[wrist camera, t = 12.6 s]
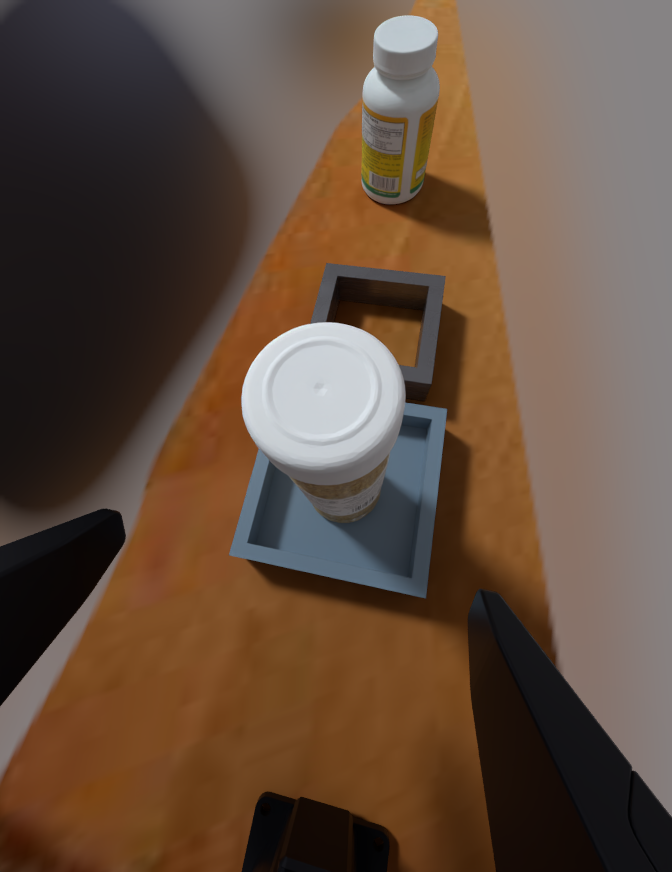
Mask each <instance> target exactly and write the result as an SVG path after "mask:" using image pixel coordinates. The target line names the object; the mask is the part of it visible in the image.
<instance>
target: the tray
mask: <svg viewBox="0 0 672 872" xmlns="http://www.w3.org/2000/svg"><path fill="white" fill-rule="evenodd" d="M446 415H447V409H444V408H437V407H431V406H424V405H418V404H411V403H405V408H404V413H403V419H402V424H401V427H400V431H399V434H398V437H397V440H396V442H395V444H394V446H393V448H392V450H391V451H390V456H389V461H388V465H387V469H386V473H385V476H384V480H383V484H382V487H381V492H380V497H379V500H378V502H377V503H376V506H375V507H374V509H373V510H372V511H371V512H369V513H368V514H367V515H366V516H365V517H363V518H361V519H360V520H357V521H354V522H350V523H338V522H334V521H330V520H328V519H326V518H325V517H323V516H321V515H320V514H319V513H318V512H317V511H316V510H315V508H314V506H313V505H312V503H311V502H310V501H309V500H308V499H307V497H306V496H305V495H304V494H303V492H302V491H301V490H300V489H299V488H298V486H297V485H296V484H295V483H294V482H293V481H292V480H291V478H290V477H289V476H288V475H287V474H285V473H283V472H282V471H280V470H279V469H278V468H276V467H275V466H274V465H273V464H272V463H271V462H270V460H269V459H268V458H267V457H266V456H265V455H264V454H263V452H262V451H261V450H260V449H259V450H258V454H257V457H256V461H255V465H254V468H253V472H252V475H251V479H250V482H249V486H248V490H247V493H246V497H245V500H244V504H243V507H242V511H241V514H240V518H239V522H238V525H237V529H236V532H235V536H234V539H233V543H232V546H231V550H230V554H229V555H231V556H235V557H240V558H244V559H249V560H254V561H258V562H263V563H267V564H272V565H276V566H281V567H285V568H290V569H294V570H299V571H304V572H308V573H313V574H317V575H322V576H326V577H331V578H335V579H340V580H345V581H349V582H354V583H358V584H363V585H367V586H372V587H376V588H381V589H385V590H390V591H395V592H399V593H404V594H408V595H413V596H417V597H422V598H426V593H427V584H428V575H429V566H430V557H431V548H432V539H433V531H434V522H435V513H436V504H437V495H438V486H439V477H440V468H441V459H442V450H443V442H444V433H445V424H446Z"/></svg>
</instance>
